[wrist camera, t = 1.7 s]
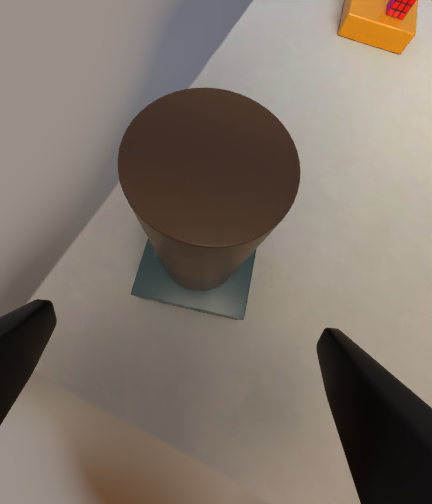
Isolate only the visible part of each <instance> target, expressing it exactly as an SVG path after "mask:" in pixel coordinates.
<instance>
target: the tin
mask: <svg viewBox="0 0 432 504" xmlns="http://www.w3.org/2000/svg"><path fill="white" fill-rule="evenodd" d="M255 253H256V249H255V250H254V252H253V253H252V254H251V255H250V256H249V257H248V258H247V259H246V260H245V262H244V263H243V264H242V265H241V266H240V267H239V268H238V269H237V270H236V272H235V273H234V274H233V275H232V276H231V277H230V278H229V279H228V280H227V281H226V282H225V283H224V284H222V285H221V286H219V287H217V288H214V289H212V290H207V291H194V290H190V289H186V288H184V287H182V286H180V285H179V284H177V283H176V282H175V281H174V280H173V279H172V278H171V277H170V276H169V275H168V273H167V271H166V270H165V268H164V266H163V264H162V262H161V261H160V259H159V257H158V255H157V253H156V251H155V250H154V248H153V246H152V244H151V242H150V241H149V239H148V240H147V243H146V247H145V250H144V253H143V256H142V259H141V263H140V266H139V269H138V272H137V276H136V279H135V282H134V285H133V288H132V292H131V295H134V296H136V297H139V298H142V299H147V300H151V301H155V302H160V303H164V304H169V305H173V306H177V307H182V308H186V309H191V310H195V311H199V312H204V313H208V314H213V315H217V316H222V317H226V318H230V319H235V320H243V319H244V315H245V309H246V304H247V298H248V292H249V287H250V281H251V276H252V270H253V264H254V259H255Z"/></svg>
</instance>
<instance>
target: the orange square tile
mask: <svg viewBox="0 0 432 504" xmlns="http://www.w3.org/2000/svg"><path fill="white" fill-rule="evenodd" d="M417 6H418V0H345V2H344V7H343V12H342V17H341V22H340V27H339V32H338V35H340V36H343V37H346V38H349V39H353V40H356V41H359V42H362V43H365V44H369V45H372V46H375V47H378V48H381V49H385V50H388V51H391V52H394V53H397V54H401V53H402V51H403V50H404V49H405V47H406V46H407V45H408V44H409V42H410V41H411V40H412V39H413V37H414V36H415V34H416V20H417Z"/></svg>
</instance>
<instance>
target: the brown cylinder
mask: <svg viewBox="0 0 432 504" xmlns="http://www.w3.org/2000/svg"><path fill="white" fill-rule="evenodd" d="M118 174H119V180H120V184H121V187H122V190H123V192H124V194H125V196H126V198H127V200H128V202H129V204H130V206H131V208H132V210H133V211H134V213H135V215H136V217H137V219H138V221H139V222H140V224H141V226H142V228H143V230H144V231H145V233H146V235H147V237H148V239H149V241H150V242H151V244H152V246H153V248H154V250H155V251H156V253H157V255H158V257H159V259H160V261H161V262H162V264H163V266H164V268H165V270H166V271H167V273H168V275H169V276H170V277H171V278H172V279H173V280H174V281H175V282H176V283H177V284H179V285H180V286H182V287H184V288H186V289H190V290H194V291H207V290H212V289H214V288H217V287H219V286H221V285H222V284H224V283H225V282H226V281H227V280H228V279H229V278H230V277H231V276H232V275H233V274H234V273H235V272H236V270H237V269H238V268H239V267H240V266H241V265H242V264H243V263H244V262H245V260H246V259H247V258H248V257H249V256H250V255H251V254H252V253H253V252H254V250H255V249H256V248H257V247H258V246H259V245H260V244H261V243H262V242H263V241H264V239H265V238H266V237H267V236H268V235H269V234H270V233H271V232H272V231H273V229H274V228H275V227H276V226H277V225H278V224H279V223H280V222H281V221H282V219H283V218H284V217H285V215H286V214H287V213H288V212H289V210H290V208H291V206H292V204H293V203H294V200H295V198H296V195H297V192H298V188H299V183H300V162H299V157H298V153H297V150H296V147H295V144H294V142H293V140H292V138H291V136H290V134H289V132H288V131H287V130H286V128H285V127H284V125H283V124H282V123H281V122H280V121H279V120H278V118H277V117H276V116H275V115H273V114H272V113H271V112H270V111H269V110H268V109H266V108H265V107H263V106H262V105H261V104H259V103H257V102H256V101H254V100H252V99H250V98H248V97H246V96H243V95H241V94H238V93H235V92H231V91H227V90H222V89H215V88H192V89H185V90H181V91H176V92H173V93H171V94H168V95H165V96H163V97H161V98H159V99H157V100H155V101H154V102H152V103H151V104H149V105H148V106H147V107H146V108H144V109H143V110H142V111H141V112H139V114H138V115H137V116H136V117H135V118H134V119H133V121H132V122H131V123H130V125H129V126H128V128H127V130H126V132H125V134H124V136H123V138H122V141H121V144H120V148H119V154H118Z"/></svg>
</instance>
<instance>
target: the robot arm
mask: <svg viewBox="0 0 432 504" xmlns="http://www.w3.org/2000/svg"><path fill="white" fill-rule="evenodd" d="M56 322H57V319H56V315H55V311H54V307H53V304H52V302H51V301H49V300H39V299H38V300H34V301H32V302H30V303H28V304H26V305H24V306H22V307H20V308H18V309H16V310H14V311H12V312H10V313H8V314H6V315H4V316H2V317H0V425H1V423H2V422H3V420H4V418H5V417H6V415H7V414H8V412H9V410H10V409H11V407H12V405H13V404H14V402H15V401H16V399H17V397H18V395H19V394H20V392H21V391H22V389H23V387H24V386H25V384H26V383H27V381H28V380H29V378H30V376H31V374H32V373H33V371H34V369H35V367H36V365H37V363H38V361H39V359H40V357H41V355H42V353H43V351H44V349H45V347H46V345H47V343H48V341H49V339H50V337H51V334H52V332H53V330H54V328H55V326H56ZM317 354H318V359H319V364H320V368H321V373H322V378H323V382H324V387H325V391H326V395H327V399H328V402H329V406H330V409H331V412H332V415H333V418H334V421H335V424H336V427H337V431H338V434H339V437H340V440H341V443H342V446H343V449H344V452H345V456H346V459H347V462H348V465H349V468H350V471H351V474H352V477H353V481H354V484H355V487H356V490H357V493H358V496H359V499H360V503H361V504H432V408H431V407H430V406H428V405H427V404H426V403H425V402H424V401H423V400H421V399H420V398H419V397H418V396H417V395H416V394H414V393H413V392H412V391H411V390H410V389H408V388H407V387H406V386H405V385H404V384H403V383H401V382H400V381H399V380H398V379H397V378H396V377H394V376H393V375H392V374H391V373H390V372H388V371H387V370H386V369H385V368H384V367H383V366H381V365H380V364H379V363H378V362H377V361H376V360H374V359H373V358H372V357H371V356H370V355H369V354H367V353H366V352H365V351H364V350H363V349H361V348H360V347H359V346H358V345H357V344H356V343H354V342H353V341H352V340H351V339H350V338H349V337H347V336H346V335H345V334H344V333H343V332H341V331H340V330H339V329H336V328H325V329H324V331H323V333H322V335H321V337H320V339H319V341H318V343H317Z"/></svg>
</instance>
